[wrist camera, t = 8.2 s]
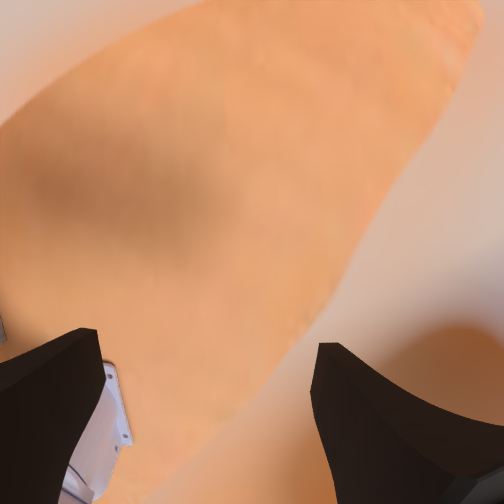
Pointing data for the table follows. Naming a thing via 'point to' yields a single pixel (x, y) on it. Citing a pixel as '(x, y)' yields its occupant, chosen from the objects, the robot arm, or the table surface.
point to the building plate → (2, 333)
